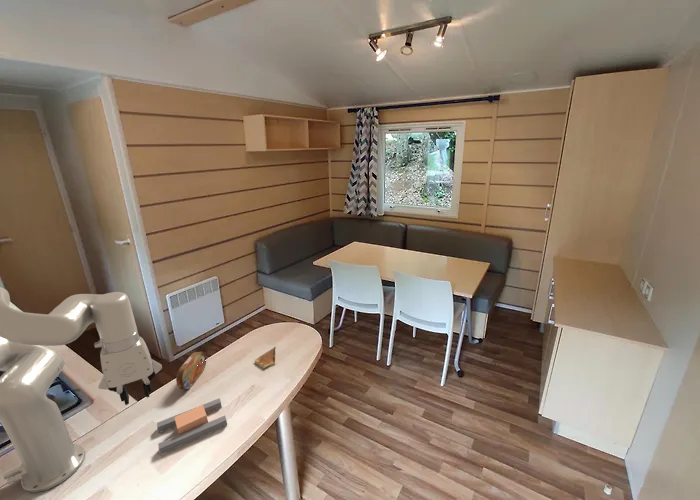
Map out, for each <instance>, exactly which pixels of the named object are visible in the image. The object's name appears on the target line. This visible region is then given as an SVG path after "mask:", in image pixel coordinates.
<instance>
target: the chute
mask: <svg viewBox="0 0 700 500" xmlns="http://www.w3.org/2000/svg"><path fill="white" fill-rule="evenodd" d="M202 405H203V406H204V409H205V412H206V415H208V414H209V413H212V412H213V411H216V410H219V409H220V408H222V402H221V397H219V398H216V399H214V400H211V401H210V402H209V401H208V402H205V403H204V404H202ZM194 408H195V407H193V408H191V409H188V410H186V411H183V412H180V413H178V414H175V415H173V416H170V417H168V418H165V419H163V420H160V421H157V422H156V427H157V432H158V434H160V433H163V432H165V431H167V430H170V429H172V428H174V427H175V428H176V427H177V425H176V421H175V417H176V416H178V415H180V414H183V413H185V412H187V411H189V410H192V409H194ZM227 426H228V421H227V418H226V415H223V416H221V417H218V418H215V419H214V420H211V421H208V423H206V424H203V425H201V426H199V427H196V428H194V429H192V430H189V431H187V432H185V433H182V434H180V435H179V434H178V435H175V436H173V437H171V438H168V439H165V440H164V441H162V442H158V444H157V445H158V452H159V455H160V456H161V455H163V454H166V453H168V452H170V451H172V450H175V449H177V448H179V447H181V446H183V445H186V444H188V443H191V442H193V441H195V440H198V439H200V438H202V437H204V436H206V435H209V434H212V433H213V432H216V431H218V430H220V429H223V428H225V427H227Z"/></svg>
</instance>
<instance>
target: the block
mask: <svg viewBox="0 0 700 500" xmlns="http://www.w3.org/2000/svg"><path fill="white" fill-rule="evenodd" d="M193 408H194V409H193ZM193 408H191V409H192V410H191V409H188V410H189V411H188V410H186V411H187V412H186V411H184V412H185V413H183V412H182V413H183V414H181V413H179V414H180V415H178V414H177V415H178V416H176V417H175V421H176V425H177V426H176V430H177V433H178V435H180V434H182V433H185V432H187V431H189V430H192V429H194V428H196V427H199V426H201V425H203V424H206V423H208V422H209V420H208V414H206V412H205V409H204V406H203V404H200V405H199V406H195V407H193Z"/></svg>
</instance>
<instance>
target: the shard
mask: <svg viewBox="0 0 700 500" xmlns="http://www.w3.org/2000/svg"><path fill="white" fill-rule="evenodd" d="M254 364H257V365H258V366H260V367H261V368H262V369H265V368H268V367H270V366H275V365H276V346H274V347H273V348H271V349H269V350H268V351H266V352H265V353H263V354H261V355H260V356H259V357H257V358H256V359H254Z"/></svg>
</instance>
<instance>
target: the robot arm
mask: <svg viewBox="0 0 700 500" xmlns="http://www.w3.org/2000/svg"><path fill="white" fill-rule="evenodd" d="M10 298H11V297H10V293H9V291H8V289H6V288H3V287H1V286H0V371H1V372H3V373H2V374H1V376H0V423H1V426H2V427H3V429H4V430H5V432H6V435H7V437H8V438H9V439H10V442H11V444H12V446H13V448H14V451H15V452H16V455H17V456H18V458H19V461H20V463H21V464H20V465H19V466H17V467H13V468H10V469H8V470H5V471H4V472H3V479H4V480H6V481H7V483H6V484H7V485H11V484H13V483H15V482H17V481H21V487H22V489H23V490H24V491H25V492H29V493H40V492H44V491H47V490H49V489H52V488H54V487H56V486H58V485H59V484H61V483H63V482H64V481H66V480H67V479H68V478H70V477H71V476H72V475H73V474H74V473H76V471H77V470H78V469H79V468H80V467H81V465H82V463H83V462H84V460H85V457H86V451H85V448H84V447H83V446H81V444H75V443H73V440H72V438H71V436H70V433H69V430H68V428H67V425H66V422H65V421H64V418H63V416H62V413H61V411H60V409H59V407H58V404H57V403H56V402H55V401H53V400H52V399H50V398H49V397H48V396H47V391H49V388H50V387H51V385H52V384H53V383H54V381H55V380H57V379H56V378H57V377H58V376H59V374H61V372H62V370H63V369H64V367H65V358H64V357H63V355H62V353H60V352H59V351H58V350H56V349H54V348H51V347H57V346H59V347H60V346H64V345H68V344H70V343H72V342H74V341H76V340H77V339H78V338H79V337H80V336H82V334H83V333H84V331H86V329H87V328H88V326H90V325H92V324H93V323H95V327H96V330H97V332H98V336H99V340H98V341H97V342H94V343H93V345H94V348H95V349H97V348H101V350H100V353H99V354H100V355H99V356H100V357H99V358H100V364H101V365H100V366H101V370H102V374H103V376H102V378H101V379H100V381H99V383H98V386H97V387H98V389H99V390H108V391H111V392H115V393H116V394H118V395H119V397H120V400H121V401H120V402H124V405H125V406H128V405H129V404H130V403H129V402H130V396H129V391H128V389H127V386H126V385H127V384H130V383H134V382H137V381H139V380H142V386H143V391H144V394H145V398H150V392H152V390H153V389H152V385H151V381H152V380H153V378H154V377H155V376H156V375H157V374H158V373H159V372H160V371H161V370H162V369H163V365H162V364H161V363H160V362H158V361H156V360H154V359H152V356H151V354H150V351H149V348H148V346H147V344H146V341H145V340H144V338H143V337H142V336H140V335H139V332H138V330H139V329H138V327H137V324H136V320H135V316H134V313H133V312H134V311H133V309H132V304H131V301H130V298H129V296H128V294H126V293H125V292H121V291H112V292H107V293H104V294H103V293H102V294H95V293H78V294H73V295H70V296H69V297H66V298H65V299H64V300H63V301H62V302H61V303H59V304H58V305H57V306H56V307H55V308H53V309H52V311H50V312H49V313H48V314H45V313H34V312H26V311H25V312H24V311H21V310H17V309H15V308H13V307H11V306H10V302H11V299H10Z"/></svg>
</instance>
